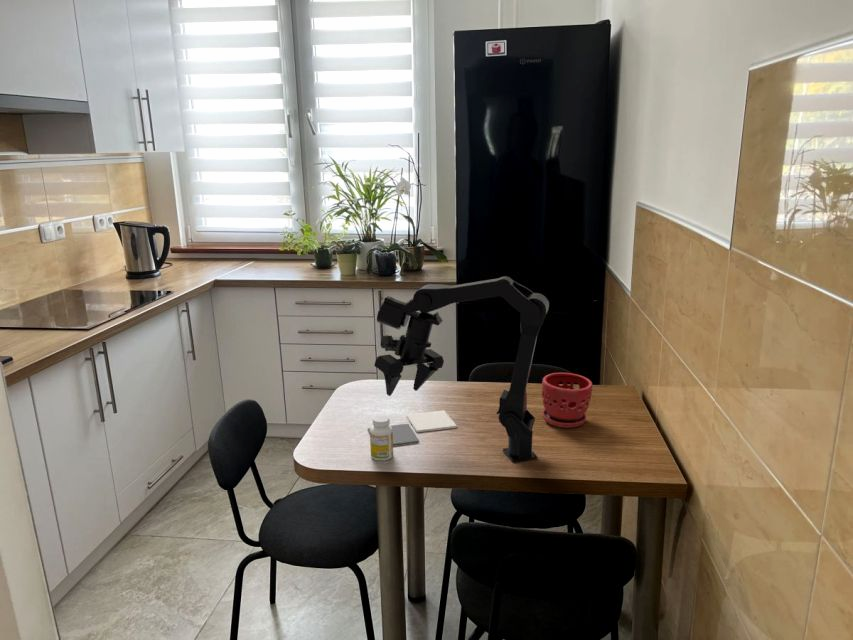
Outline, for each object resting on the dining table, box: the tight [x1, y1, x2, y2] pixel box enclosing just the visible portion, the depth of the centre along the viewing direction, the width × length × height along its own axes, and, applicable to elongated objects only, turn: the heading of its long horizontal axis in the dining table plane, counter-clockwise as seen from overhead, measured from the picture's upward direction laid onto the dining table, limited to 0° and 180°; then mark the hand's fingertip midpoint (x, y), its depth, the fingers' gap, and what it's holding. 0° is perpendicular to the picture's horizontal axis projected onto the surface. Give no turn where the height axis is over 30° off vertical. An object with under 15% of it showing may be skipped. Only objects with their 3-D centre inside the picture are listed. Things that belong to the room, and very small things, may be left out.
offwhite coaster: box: [406, 409, 458, 433], centre depth 174 cm, size 11×11×1 cm
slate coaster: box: [367, 423, 420, 447], centre depth 165 cm, size 11×11×1 cm
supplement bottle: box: [369, 415, 394, 461], centre depth 153 cm, size 5×5×10 cm
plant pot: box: [541, 372, 593, 428], centre depth 172 cm, size 13×13×12 cm
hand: (402, 392), depth 159 cm, fingers open, 9 cm apart
